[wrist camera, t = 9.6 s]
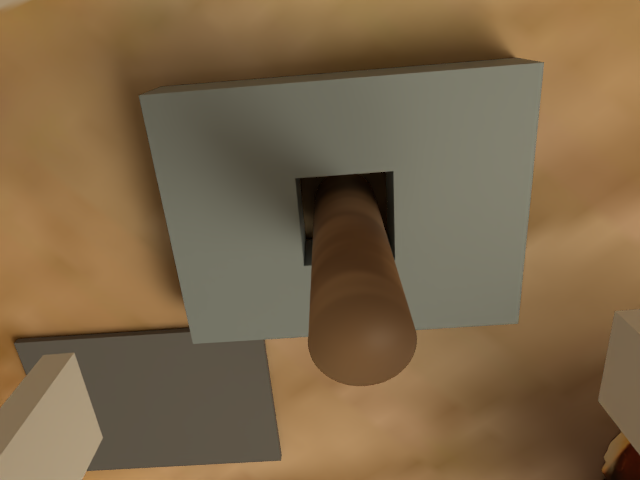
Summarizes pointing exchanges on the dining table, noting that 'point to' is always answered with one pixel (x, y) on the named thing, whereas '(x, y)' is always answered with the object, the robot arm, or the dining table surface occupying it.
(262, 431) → the mat
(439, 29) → the dining table surface
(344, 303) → the peg
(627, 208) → the dining table surface
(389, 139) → the block
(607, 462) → the vessel
